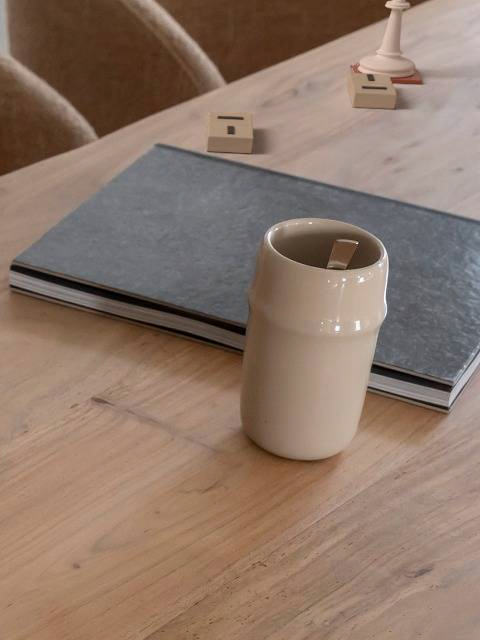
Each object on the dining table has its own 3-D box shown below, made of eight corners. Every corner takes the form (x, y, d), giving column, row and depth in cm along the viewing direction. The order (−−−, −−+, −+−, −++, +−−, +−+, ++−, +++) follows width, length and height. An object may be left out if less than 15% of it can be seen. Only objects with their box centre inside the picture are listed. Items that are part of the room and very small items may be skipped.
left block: (249, 128, 118) (252, 112, 117) (251, 153, 112) (253, 136, 111) (206, 126, 118) (208, 110, 118) (206, 151, 113) (208, 134, 112)
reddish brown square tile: (413, 68, 134) (414, 65, 134) (420, 84, 129) (421, 80, 129) (350, 66, 135) (351, 62, 135) (355, 81, 130) (355, 77, 130)
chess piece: (371, 78, 130) (393, -43, 124) (348, 65, 134) (368, -53, 128) (424, 76, 130) (447, -45, 125) (399, 63, 134) (421, -55, 129)
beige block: (386, 88, 128) (389, 72, 128) (394, 109, 123) (397, 93, 122) (346, 86, 129) (349, 71, 128) (352, 107, 123) (355, 91, 122)
